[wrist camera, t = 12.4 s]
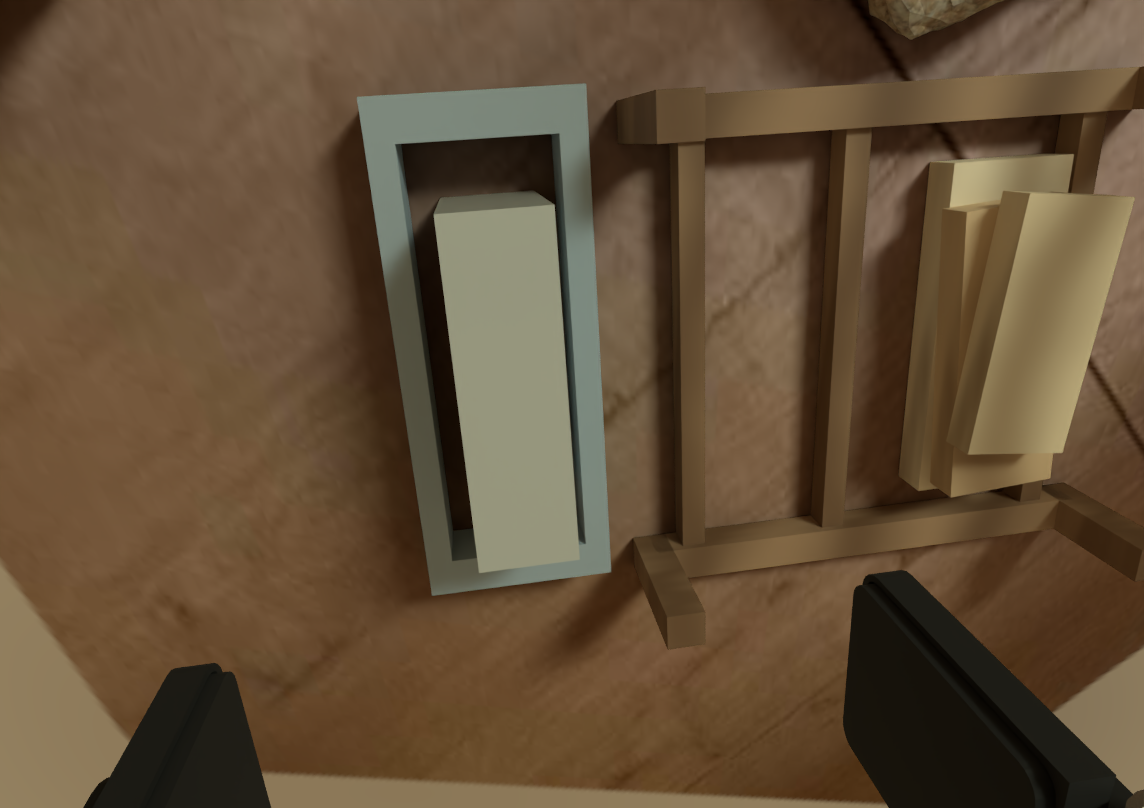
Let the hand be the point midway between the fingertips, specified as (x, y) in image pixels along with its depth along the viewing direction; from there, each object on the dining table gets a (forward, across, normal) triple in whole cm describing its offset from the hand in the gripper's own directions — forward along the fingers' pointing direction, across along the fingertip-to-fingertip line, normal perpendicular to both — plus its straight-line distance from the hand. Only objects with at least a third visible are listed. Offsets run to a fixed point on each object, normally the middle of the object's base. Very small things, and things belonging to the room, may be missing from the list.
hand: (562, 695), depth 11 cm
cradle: (+20, 0, 0) cm, 20 cm away
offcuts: (+20, -20, +1) cm, 29 cm away
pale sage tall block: (+20, 0, 0) cm, 20 cm away
